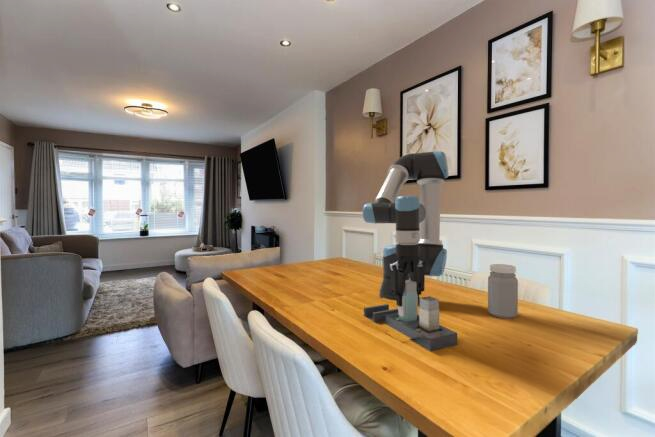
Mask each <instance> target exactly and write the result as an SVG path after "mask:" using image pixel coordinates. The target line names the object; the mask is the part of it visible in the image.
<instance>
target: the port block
mask: <svg viewBox="0 0 655 437" xmlns="http://www.w3.org/2000/svg"><path fill="white" fill-rule="evenodd" d="M439 303H440V299H438V298H435V297H434V296H430V295H429V296H424V297H423V296H422V297H419V307H418V308H419V310H418V312H419V313H418V315H417V320H416V321H410V322H405V321H403V320H401V319H399V315H398V313H393V314H387V315H385V321H384V324H385V325H387V326H388V327H390V328H392V329H394V330H395V331H397V332H398V333H400V334H401V335H404V336H406V337H408V338H409V340H410V341H411V342H413V343H414V344H417V345H418V346H419V347H422V348H423V349H425V350H427V351H428V352H434V351H438V350H441V349H446V348H450V347H454V346H457V345H458V332H456V331H455V330H452V329H450V328H448V327H445V326H443V325H441V324H440V309H439V308H440V307H439V306H440V304H439Z"/></svg>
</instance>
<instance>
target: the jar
mask: <svg viewBox="0 0 655 437" xmlns="http://www.w3.org/2000/svg"><path fill="white" fill-rule="evenodd" d="M489 271H490V272H489V275H488V277H487V312H488V313H489V314H490V316H493V317H496V318H499V319H505V320H506V319H514V318H516V317H517V316H518V314H519V312H518V310H519V309H518V308H519V307H518V303H519V302H518V301H519V297H518V296H519V281H518V278H517V277H516V276H517V275H516V274H515V273H517V272H516V271H517V269H516V266H515V265H511V264H503V263H493V264H490V265H489Z"/></svg>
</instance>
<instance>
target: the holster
mask: <svg viewBox="0 0 655 437" xmlns="http://www.w3.org/2000/svg"><path fill="white" fill-rule="evenodd" d="M393 313H398V308H391V309H390V305H389V304H388V303H385V304H378V305H372V306H366V307H363V317H365V318H367V320H370V321H372V323H375V324H377V323H382V322H385V315H387V314H393Z"/></svg>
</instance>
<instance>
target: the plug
mask: <svg viewBox="0 0 655 437" xmlns="http://www.w3.org/2000/svg"><path fill="white" fill-rule="evenodd" d="M403 296H405V317H402V316H400V315H399V319H401V320H403V321H405V322H410V321H416V320H417V291H416V282H414V281H411V280H406V281H405V287H404V293H403Z"/></svg>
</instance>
